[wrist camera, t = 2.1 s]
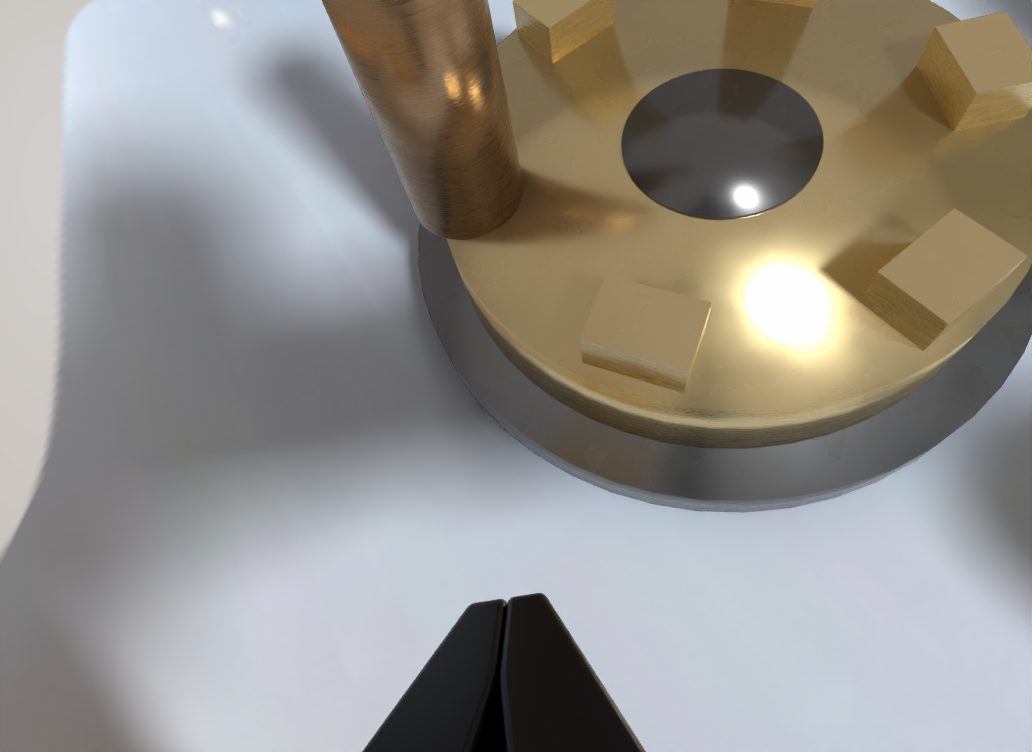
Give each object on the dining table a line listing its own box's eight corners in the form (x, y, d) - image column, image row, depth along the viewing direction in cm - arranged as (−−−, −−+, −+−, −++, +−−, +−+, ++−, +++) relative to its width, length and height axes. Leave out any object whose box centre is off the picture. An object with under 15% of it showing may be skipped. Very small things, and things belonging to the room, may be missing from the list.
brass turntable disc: (874, -14, 26) (1091, -606, 14) (1109, 389, 18) (2044, -167, 6) (420, 85, 28) (264, -379, 16) (459, 499, 20) (206, 214, 8)
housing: (839, 662, 18) (857, 661, 17) (278, 278, 26) (260, 256, 25) (1118, 152, 23) (1149, 119, 22) (579, -32, 32) (577, -64, 31)
